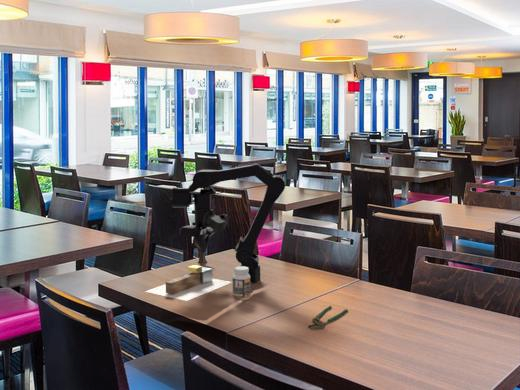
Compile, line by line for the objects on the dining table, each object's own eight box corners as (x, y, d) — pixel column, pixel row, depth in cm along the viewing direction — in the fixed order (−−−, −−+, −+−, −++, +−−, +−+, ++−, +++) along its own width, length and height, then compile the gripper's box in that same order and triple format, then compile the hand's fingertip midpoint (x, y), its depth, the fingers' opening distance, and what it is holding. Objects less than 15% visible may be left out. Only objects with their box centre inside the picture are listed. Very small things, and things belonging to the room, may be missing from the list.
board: (232, 285, 210) (232, 282, 210) (186, 304, 190) (186, 300, 190) (192, 277, 220) (192, 274, 220) (144, 294, 200) (144, 291, 200)
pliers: (329, 308, 187) (329, 304, 187) (349, 311, 183) (349, 307, 183) (299, 328, 170) (299, 323, 170) (321, 332, 167) (320, 327, 167)
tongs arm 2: (196, 283, 208) (196, 272, 208) (199, 283, 207) (199, 273, 207) (168, 293, 197) (168, 282, 196) (171, 294, 196) (171, 283, 195)
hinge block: (202, 279, 214) (202, 266, 214) (212, 281, 212) (212, 268, 211) (193, 282, 210) (192, 270, 209) (203, 284, 208) (202, 271, 207)
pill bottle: (248, 301, 193) (248, 270, 191) (230, 300, 194) (230, 269, 192) (252, 295, 198) (252, 266, 197) (235, 295, 199) (234, 265, 198)
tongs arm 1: (193, 282, 209) (193, 272, 208) (196, 282, 208) (196, 272, 208) (165, 292, 197) (165, 282, 197) (168, 293, 197) (168, 282, 196)
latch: (193, 270, 209) (193, 264, 209) (202, 271, 207) (201, 266, 207) (188, 272, 207) (188, 266, 206) (196, 273, 205) (196, 268, 204)
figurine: (197, 268, 233) (195, 221, 230) (189, 265, 236) (188, 219, 234) (213, 264, 237) (212, 219, 235) (205, 262, 241) (204, 217, 238)
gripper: (205, 213, 196) (206, 260, 199) (237, 205, 212) (238, 249, 214) (178, 210, 202) (179, 256, 204) (211, 202, 218) (213, 245, 220)
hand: (204, 252), depth 211 cm, fingers closed
